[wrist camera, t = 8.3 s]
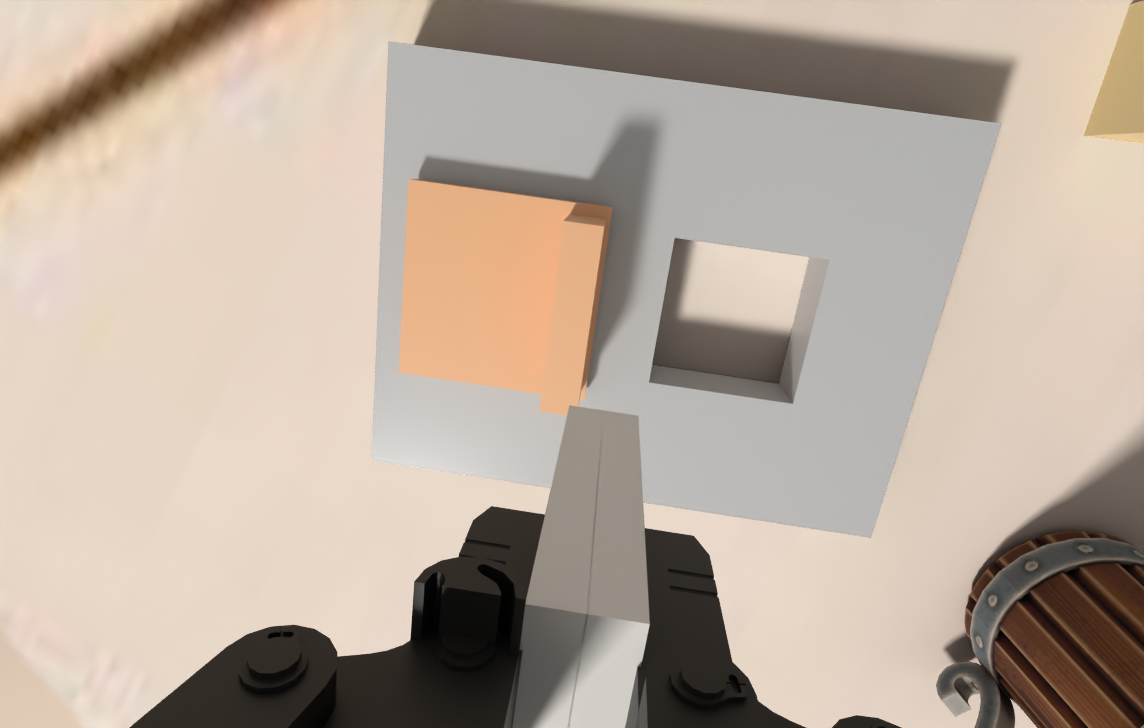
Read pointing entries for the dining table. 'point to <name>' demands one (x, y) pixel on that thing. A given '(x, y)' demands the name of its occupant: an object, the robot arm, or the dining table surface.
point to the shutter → (502, 289)
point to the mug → (1056, 636)
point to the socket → (641, 265)
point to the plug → (1123, 85)
